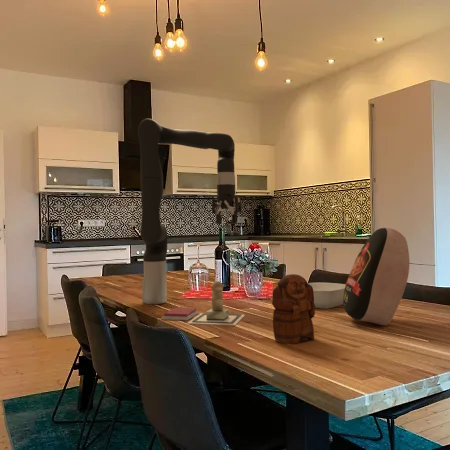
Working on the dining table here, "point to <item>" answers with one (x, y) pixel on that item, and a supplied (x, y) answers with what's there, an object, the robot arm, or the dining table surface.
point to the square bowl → (328, 294)
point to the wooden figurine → (293, 310)
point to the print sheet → (231, 320)
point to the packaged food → (378, 278)
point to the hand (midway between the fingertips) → (226, 223)
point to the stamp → (217, 303)
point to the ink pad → (180, 314)
